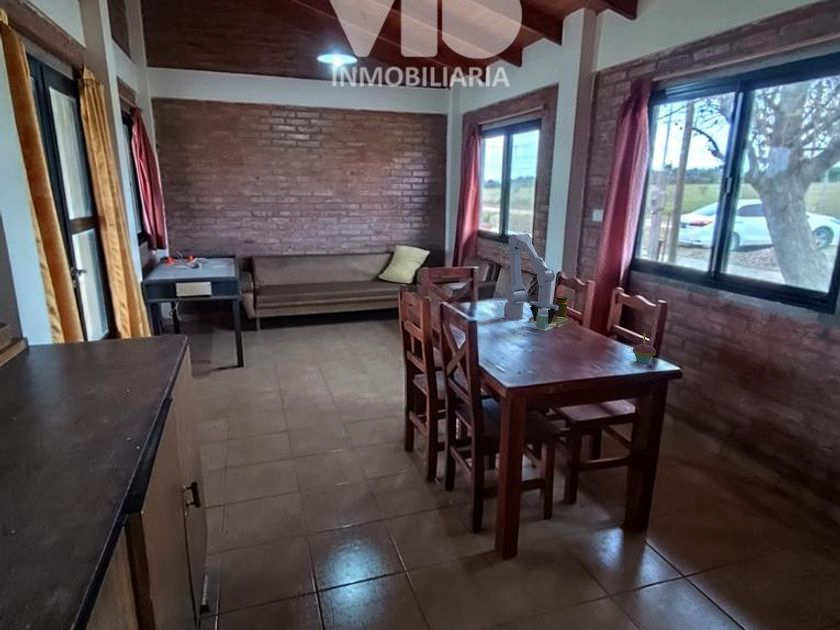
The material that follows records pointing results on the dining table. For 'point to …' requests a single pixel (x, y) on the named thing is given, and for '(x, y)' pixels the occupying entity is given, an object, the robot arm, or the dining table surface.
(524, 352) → the dining table surface
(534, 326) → the coaster
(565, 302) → the condiment
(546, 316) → the block
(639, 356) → the cupcake
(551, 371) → the dining table surface
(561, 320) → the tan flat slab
